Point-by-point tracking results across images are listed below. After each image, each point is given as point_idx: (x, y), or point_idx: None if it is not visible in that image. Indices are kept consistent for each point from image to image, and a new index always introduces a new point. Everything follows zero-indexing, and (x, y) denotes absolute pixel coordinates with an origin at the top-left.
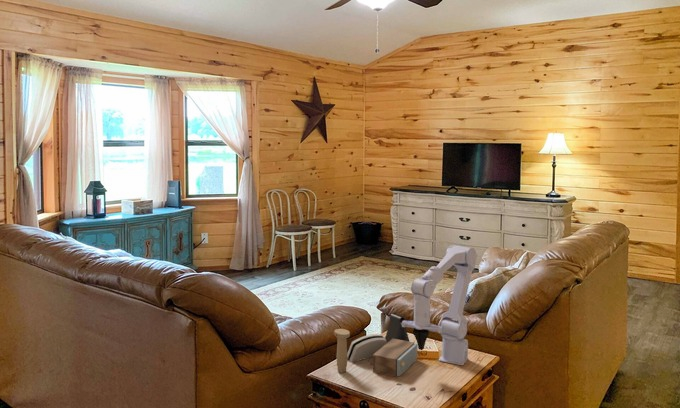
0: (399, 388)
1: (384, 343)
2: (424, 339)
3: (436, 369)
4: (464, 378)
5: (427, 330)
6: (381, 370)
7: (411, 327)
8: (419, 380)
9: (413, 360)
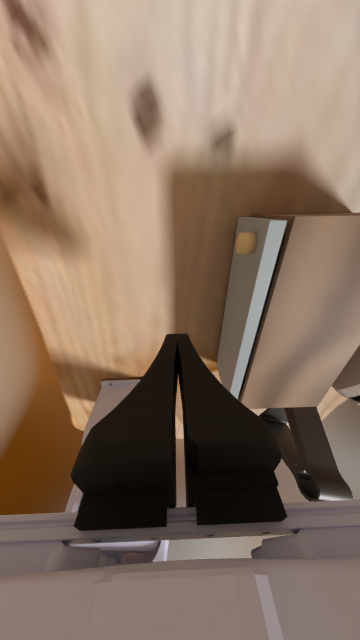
0: (206, 70)
1: (337, 378)
2: (135, 388)
3: (147, 337)
4: (49, 320)
5: (84, 518)
6: (324, 213)
7: (317, 509)
8: (157, 232)
9: (221, 347)
